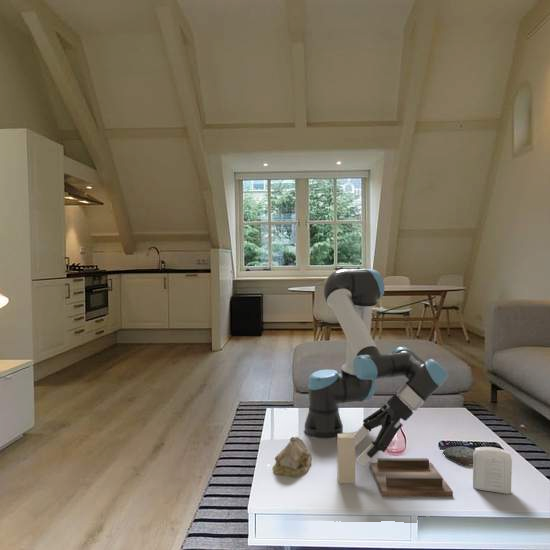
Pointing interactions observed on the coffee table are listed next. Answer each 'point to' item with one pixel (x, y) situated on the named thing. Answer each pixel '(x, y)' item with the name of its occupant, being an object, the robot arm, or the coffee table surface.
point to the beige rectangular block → (346, 458)
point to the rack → (408, 477)
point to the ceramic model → (293, 459)
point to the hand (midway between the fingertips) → (355, 452)
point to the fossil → (460, 454)
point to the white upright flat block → (492, 469)
